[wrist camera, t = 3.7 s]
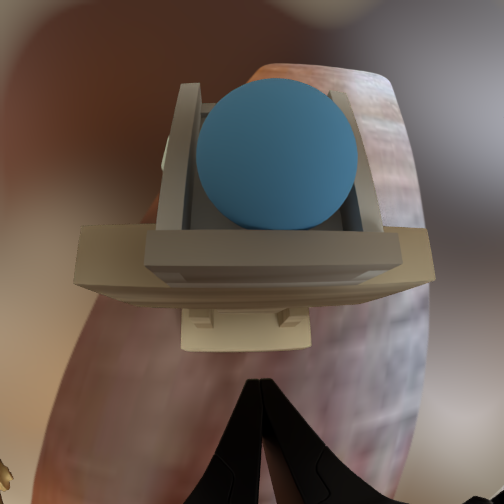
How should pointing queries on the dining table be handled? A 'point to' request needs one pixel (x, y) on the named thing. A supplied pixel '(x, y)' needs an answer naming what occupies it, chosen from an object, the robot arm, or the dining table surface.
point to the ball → (276, 156)
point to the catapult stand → (245, 331)
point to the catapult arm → (248, 244)
